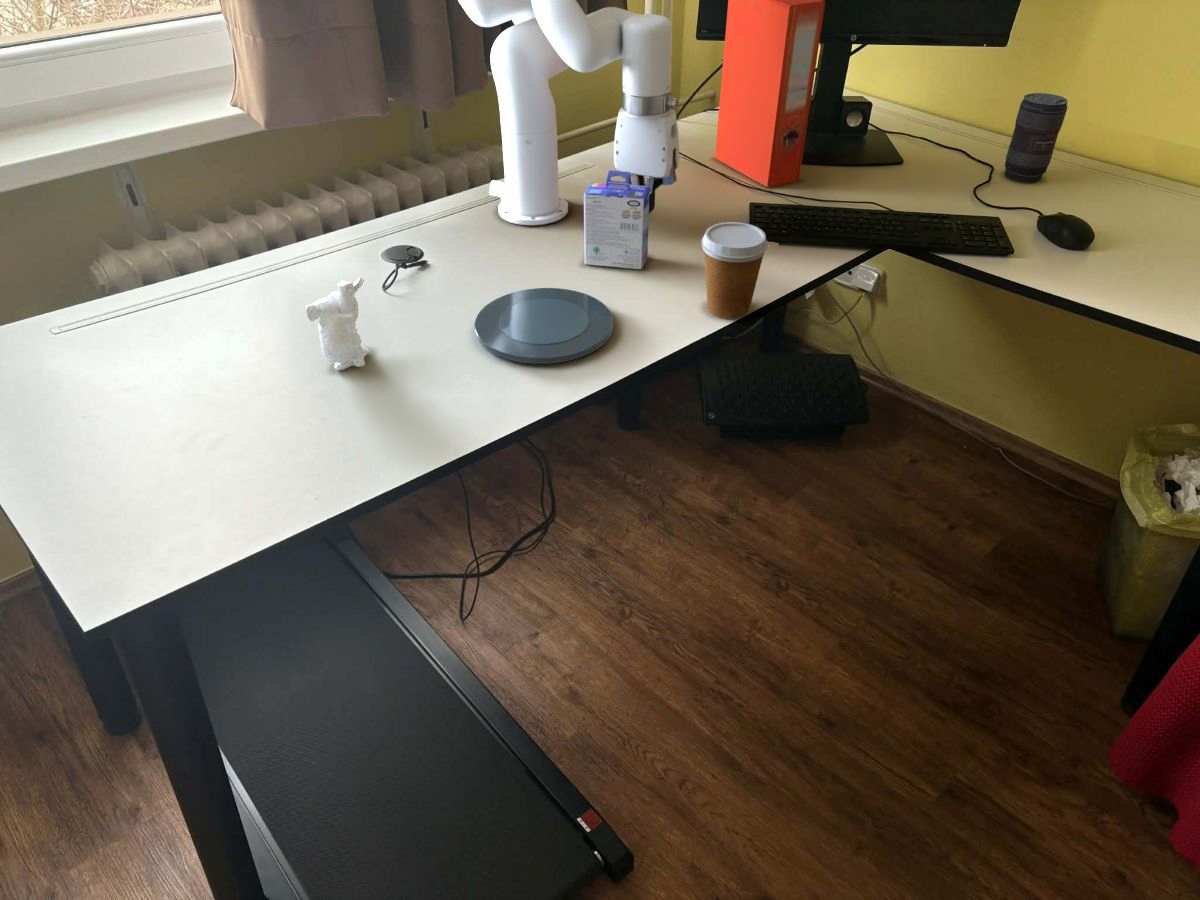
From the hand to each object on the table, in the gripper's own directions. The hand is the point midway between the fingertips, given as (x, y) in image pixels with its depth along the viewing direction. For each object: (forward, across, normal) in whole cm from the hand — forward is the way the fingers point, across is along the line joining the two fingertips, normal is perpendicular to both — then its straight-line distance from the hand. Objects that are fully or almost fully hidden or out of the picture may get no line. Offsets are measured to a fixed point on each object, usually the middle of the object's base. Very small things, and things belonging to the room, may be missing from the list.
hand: (644, 212), depth 152 cm
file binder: (+5, -8, -38) cm, 39 cm away
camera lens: (+5, -56, -57) cm, 80 cm away
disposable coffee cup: (+5, -22, +17) cm, 28 cm away
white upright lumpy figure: (+4, +21, +54) cm, 58 cm away
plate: (+4, 0, +35) cm, 35 cm away
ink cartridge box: (+4, 0, +10) cm, 11 cm away
